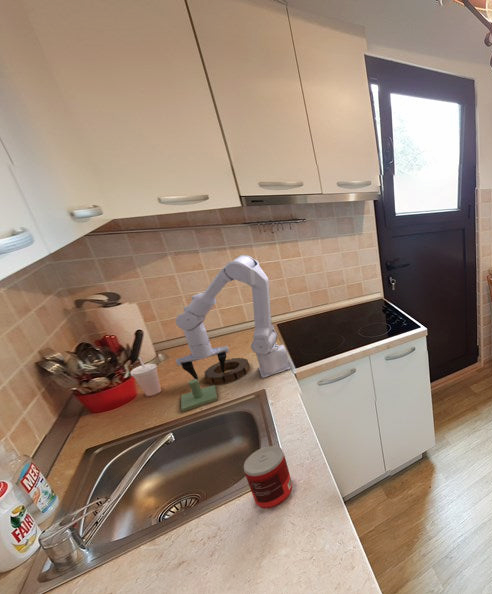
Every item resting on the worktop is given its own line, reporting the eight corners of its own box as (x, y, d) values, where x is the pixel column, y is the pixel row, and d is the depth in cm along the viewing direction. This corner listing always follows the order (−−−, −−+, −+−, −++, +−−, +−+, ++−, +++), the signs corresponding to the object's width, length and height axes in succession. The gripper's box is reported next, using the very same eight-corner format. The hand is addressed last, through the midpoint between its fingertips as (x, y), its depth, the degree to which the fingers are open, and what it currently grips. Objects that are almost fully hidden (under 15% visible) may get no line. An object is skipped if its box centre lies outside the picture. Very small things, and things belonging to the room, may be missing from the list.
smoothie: (150, 399, 110) (134, 363, 105) (135, 397, 111) (119, 361, 106) (171, 388, 115) (156, 353, 110) (156, 385, 117) (142, 351, 112)
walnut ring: (247, 360, 132) (245, 354, 131) (252, 374, 123) (250, 368, 122) (205, 372, 124) (203, 366, 123) (208, 388, 115) (205, 382, 114)
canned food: (281, 474, 82) (271, 440, 78) (300, 489, 78) (290, 454, 74) (248, 499, 76) (235, 463, 72) (267, 516, 72) (255, 479, 68)
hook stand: (215, 387, 116) (209, 370, 113) (217, 400, 109) (211, 382, 107) (182, 398, 110) (175, 380, 108) (182, 412, 104) (174, 393, 101)
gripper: (223, 332, 122) (233, 363, 127) (171, 344, 114) (184, 377, 118) (225, 339, 117) (235, 371, 122) (171, 352, 109) (184, 387, 113)
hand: (210, 375), depth 120 cm, fingers open, 7 cm apart
